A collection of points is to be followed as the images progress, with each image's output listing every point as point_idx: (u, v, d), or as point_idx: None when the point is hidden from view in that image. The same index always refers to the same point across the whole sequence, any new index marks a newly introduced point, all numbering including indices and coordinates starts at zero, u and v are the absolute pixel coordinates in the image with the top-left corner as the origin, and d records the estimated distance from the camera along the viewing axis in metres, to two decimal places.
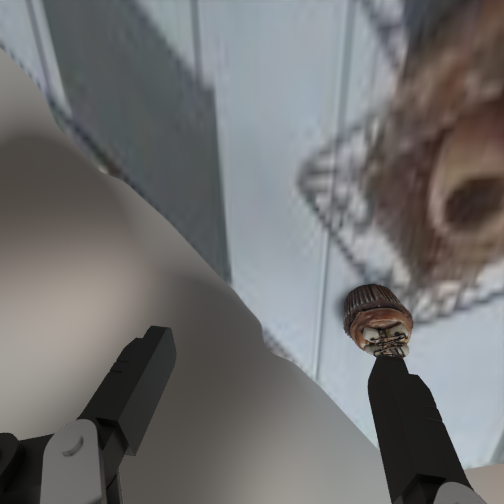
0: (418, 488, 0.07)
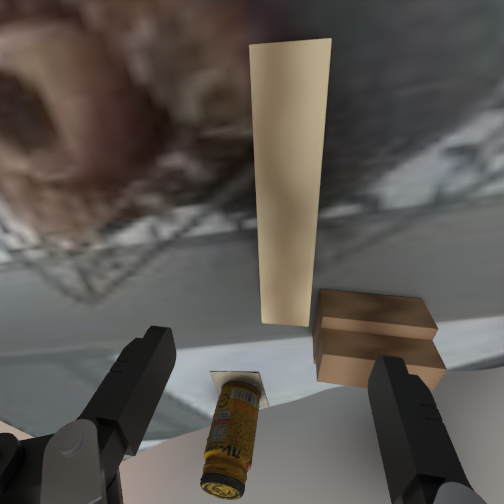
0: (418, 488, 0.07)
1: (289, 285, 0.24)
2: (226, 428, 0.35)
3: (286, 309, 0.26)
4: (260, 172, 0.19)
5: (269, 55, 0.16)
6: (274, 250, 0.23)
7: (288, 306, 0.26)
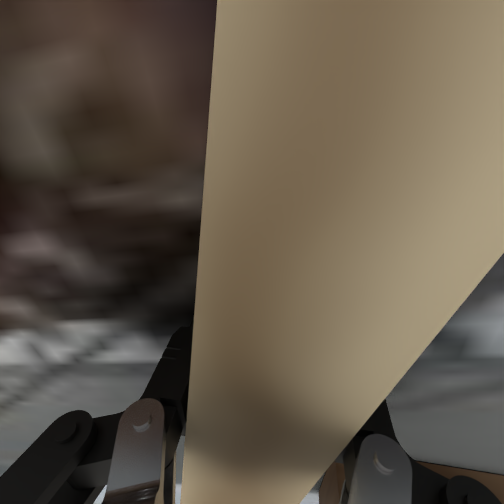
0: (351, 442, 0.08)
1: None
2: None
3: None
4: (209, 350, 0.06)
5: None
6: (219, 469, 0.10)
7: None
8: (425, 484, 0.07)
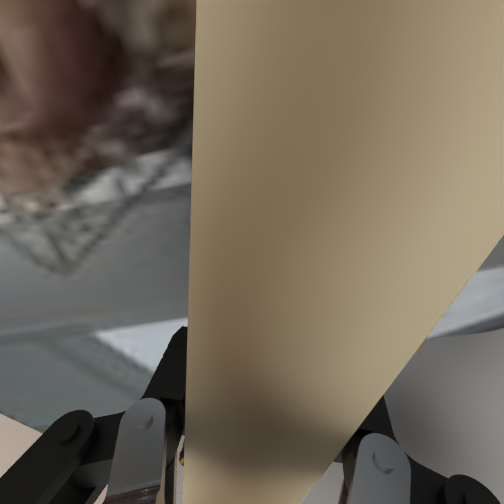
0: (350, 441, 0.08)
1: None
2: None
3: None
4: (204, 350, 0.06)
5: None
6: (220, 469, 0.10)
7: None
8: (424, 483, 0.07)
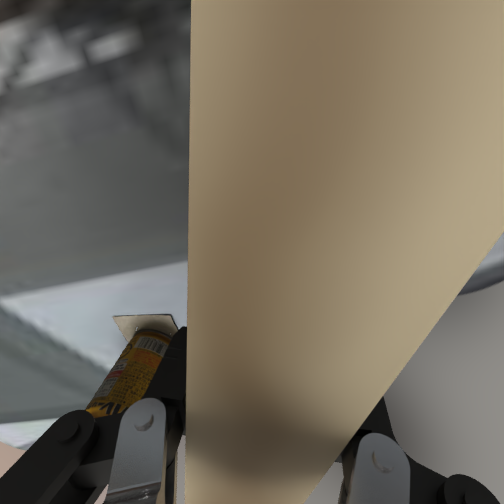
0: (349, 441, 0.08)
1: None
2: (115, 381, 0.26)
3: None
4: (204, 352, 0.06)
5: None
6: (221, 471, 0.10)
7: None
8: (423, 483, 0.07)
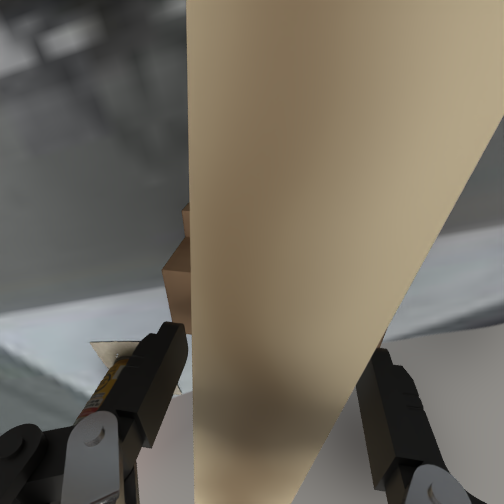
0: (397, 471, 0.07)
1: (250, 488, 0.12)
2: None
3: None
4: (207, 322, 0.07)
5: None
6: (227, 445, 0.10)
7: None
8: None
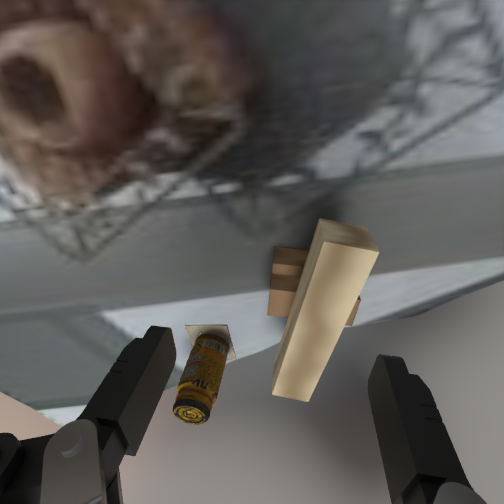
0: (418, 488, 0.07)
1: (302, 375, 0.31)
2: (196, 367, 0.41)
3: (295, 389, 0.33)
4: (306, 307, 0.26)
5: (335, 250, 0.22)
6: (299, 352, 0.29)
7: (296, 387, 0.33)
8: None
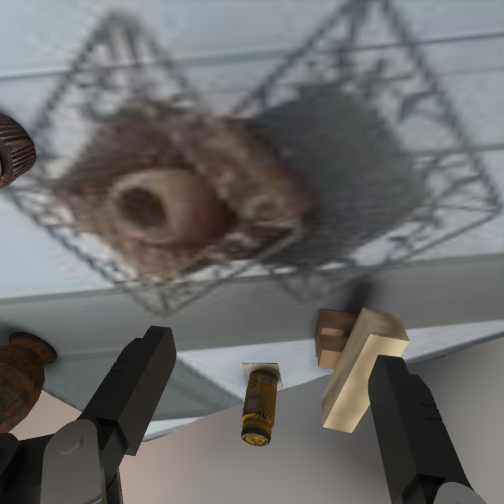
0: (418, 488, 0.07)
1: (348, 414, 0.41)
2: (256, 400, 0.52)
3: (341, 423, 0.43)
4: (354, 371, 0.36)
5: (378, 339, 0.32)
6: (346, 399, 0.39)
7: (343, 422, 0.42)
8: None
